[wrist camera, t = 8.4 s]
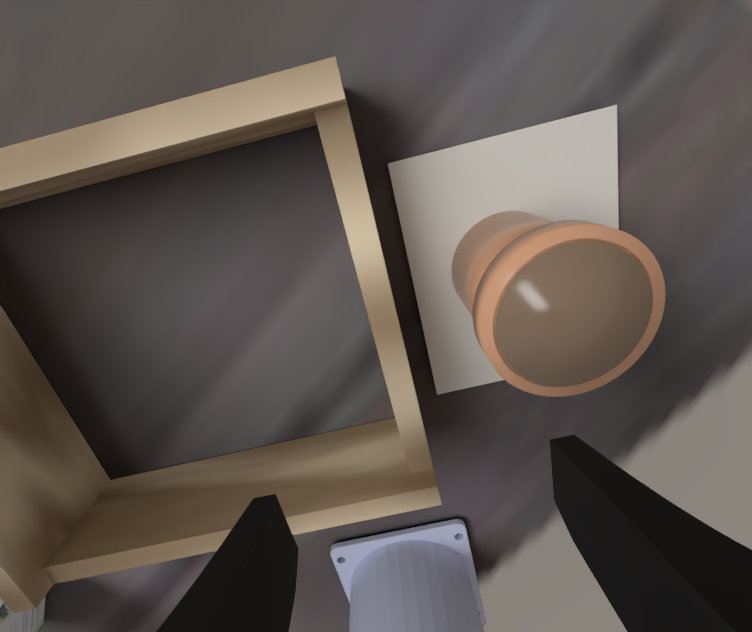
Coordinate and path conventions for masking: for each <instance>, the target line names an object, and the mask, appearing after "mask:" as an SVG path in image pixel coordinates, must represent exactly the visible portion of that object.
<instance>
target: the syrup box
mask: <svg viewBox="0 0 752 632" xmlns="http://www.w3.org/2000/svg"><path fill="white" fill-rule="evenodd" d="M45 598H46V596H45V597H44V598H43V600H42V601H41V603H40V604H39V605H38V607H37V608H36V609H31V610H26V611H21V612H16V613H13V612H12V611H11V609H10V608H9V607H8V606H7V605H6V604H5V603H4V601H3V600H2V599H1V598H0V632H39V631H40V629H41V628H42V626H43V621H44V612H45Z"/></svg>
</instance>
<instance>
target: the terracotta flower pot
mask: <svg viewBox="0 0 752 632" xmlns="http://www.w3.org/2000/svg"><path fill="white" fill-rule="evenodd" d="M451 275H452V282H453V286H454V288H455V291H456V293H457V295H458V296H459V298H460V300H461V301H462V303H463V304H464V305H465V307H466V308H467V310H468V311H469V313H470V314H471V316H472V318H473V327H474V331H475V335H476V338H477V340H478V343H479V345H480V347H481V348H482V350H483V352H484V353H485V355H486V357H487V358H488V360H489V362H490V363H491V365H492V366H493V368H494V369H495V370H496V371H497V373H498V374H499V375H500V376H501V377H502V378H503V379H505V380H506V381H507V382H508V383H510V384H511V385H513V386H515V387H516V388H519V389H521V390H523V391H525V392H528V393H531V394H535V395H541V396H549V397H562V396H571V395H577V394H581V393H584V392H588V391H591V390H593V389H596V388H598V387H601V386H603V385H605V384H607V383H608V382H610V381H612V380H613V379H615V378H617V377H618V376H620V375H621V374H622V373H624V372H625V371H626V370H627V369H629V368H630V367H631V366H632V365H633V364H634V363H635V362H636V361H637V360H638V359H639V358H640V356H641V355H642V354H643V353H644V352H645V351H646V349H647V348H648V346H649V345H650V343H651V342H652V340H653V338H654V336H655V334H656V332H657V330H658V328H659V325H660V322H661V320H662V316H663V312H664V307H665V297H666V296H665V283H664V278H663V274H662V271H661V268H660V266H659V264H658V262H657V260H656V258H655V257H654V255H653V254H652V253H651V251H650V250H649V249H648V248H647V247H646V246H645V245H644V244H643V243H642V242H641V241H639V240H638V239H637V238H635V237H633V236H632V235H630V234H628V233H626V232H623V231H621V230H618V229H615V228H612V227H608V226H605V225H601V224H598V223H594V222H589V221H583V220H562V221H556V222H553V221H550V220H547V219H544V218H541V217H538V216H536V215H533V214H530V213H526V212H522V211H505V212H499V213H496V214H493V215H490V216H488V217H486V218H484V219H482V220H481V221H479V222H478V223H476V224H475V225H474V226H473V227H471V229H470V230H469V231H468V232H467V233H466V234H465V235H464V236H463V238H462V239H461V241H460V242H459V244H458V246H457V248H456V251H455V253H454V256H453V260H452V268H451Z"/></svg>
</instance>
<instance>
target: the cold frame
mask: <svg viewBox="0 0 752 632" xmlns="http://www.w3.org/2000/svg"><path fill="white" fill-rule="evenodd" d="M315 125H318V129H319V133H320V137H321V141H322V144H323V148H324V152H325V156H326V159H327V163H328V167H329V171H330V174H331V178H332V182H333V186H334V189H335V193H336V197H337V201H338V204H339V208H340V212H341V216H342V219H343V223H344V227H345V231H346V234H347V238H348V242H349V246H350V249H351V253H352V257H353V261H354V264H355V268H356V272H357V276H358V279H359V283H360V287H361V291H362V294H363V298H364V302H365V306H366V310H367V313H368V317H369V321H370V325H371V328H372V332H373V336H374V340H375V343H376V347H377V351H378V355H379V358H380V362H381V366H382V370H383V373H384V377H385V381H386V385H387V388H388V392H389V396H390V400H391V403H392V407H393V411H394V415H395V418H391V419H386V420H382V421H377V422H372V423H368V424H363V425H359V426H354V427H350V428H345V429H340V430H336V431H331V432H327V433H322V434H318V435H313V436H309V437H304V438H299V439H295V440H290V441H286V442H281V443H277V444H272V445H267V446H263V447H258V448H254V449H249V450H245V451H240V452H236V453H231V454H226V455H222V456H217V457H213V458H208V459H204V460H199V461H194V462H190V463H185V464H181V465H176V466H172V467H167V468H162V469H158V470H153V471H149V472H144V473H140V474H135V475H131V476H126V477H121V478H117V479H112V480H110V478H109V477H108V475H107V474H106V472H105V470H104V469H103V467H102V466H101V464H100V462H99V461H98V459H97V458H96V456H95V454H94V453H93V451H92V450H91V448H90V447H89V445H88V443H87V442H86V440H85V439H84V437H83V435H82V434H81V432H80V431H79V429H78V427H77V426H76V424H75V423H74V421H73V419H72V418H71V416H70V415H69V413H68V412H67V410H66V408H65V407H64V405H63V404H62V402H61V400H60V399H59V397H58V396H57V394H56V392H55V391H54V389H53V388H52V386H51V384H50V383H49V381H48V380H47V378H46V377H45V375H44V373H43V372H42V370H41V369H40V367H39V365H38V364H37V362H36V361H35V359H34V357H33V356H32V354H31V353H30V351H29V349H28V348H27V346H26V345H25V343H24V341H23V340H22V338H21V337H20V335H19V334H18V332H17V330H16V329H15V327H14V326H13V324H12V322H11V321H10V319H9V318H8V316H7V314H6V313H5V311H4V310H3V308H2V306H1V305H0V598H1V599H2V600H3V601H4V603H5V604H6V605H7V606H8V607H9V608H10V609H11V611H12V612H13V613H16V612H21V611H26V610H31V609H36V608H37V607H38V605H39V604H40V603H41V601H42V600H43V598H44V597H45V596H46V594H47V593H48V592H49V590H50V589H51V587H52V586H53V585H54V584H57V583H62V582H67V581H72V580H77V579H81V578H86V577H91V576H96V575H101V574H106V573H111V572H116V571H120V570H125V569H130V568H135V567H140V566H145V565H150V564H155V563H159V562H164V561H169V560H174V559H179V558H184V557H189V556H194V555H199V554H203V553H208V552H213V551H217V550H218V549H219V547H220V546H221V544H222V543H223V541H224V540H225V538H226V537H227V536H228V534H229V533H230V531H231V530H232V528H233V527H234V525H235V524H236V522H237V521H238V520H239V518H240V517H241V515H242V514H243V512H244V511H245V509H246V508H247V507H248V505H249V504H250V502H251V501H252V500H253V498H257V497H262V496H267V495H272V494H276V496H277V498H278V501H279V503H280V506H281V508H282V511H283V513H284V516H285V518H286V520H287V523H288V525H289V528H290V530H291V533H292V535H296V534H301V533H306V532H311V531H316V530H321V529H325V528H330V527H335V526H340V525H345V524H350V523H355V522H360V521H364V520H369V519H374V518H379V517H384V516H389V515H394V514H399V513H403V512H408V511H413V510H418V509H423V508H428V507H433V506H438V505H442V503H441V499H440V495H439V490H438V486H437V481H436V477H435V473H434V468H433V464H432V459H431V455H430V451H429V446H428V442H427V438H426V433H425V429H424V425H423V420H422V416H421V412H420V408H419V403H418V399H417V395H416V391H415V387H414V382H413V378H412V374H411V370H410V365H409V361H408V357H407V353H406V348H405V344H404V340H403V336H402V332H401V327H400V323H399V319H398V315H397V310H396V306H395V302H394V298H393V294H392V289H391V285H390V281H389V277H388V272H387V268H386V264H385V260H384V255H383V251H382V247H381V243H380V239H379V234H378V230H377V226H376V222H375V217H374V213H373V209H372V205H371V201H370V196H369V192H368V188H367V184H366V179H365V175H364V171H363V167H362V162H361V158H360V154H359V150H358V146H357V141H356V137H355V133H354V129H353V124H352V120H351V116H350V112H349V108H348V103H347V99H346V95H345V91H344V86H343V83H342V79H341V75H340V72H339V68H338V64H337V60H336V57H331V58H328V59H324V60H321V61H317V62H313V63H310V64H306V65H302V66H299V67H295V68H291V69H288V70H284V71H280V72H277V73H273V74H270V75H266V76H262V77H259V78H255V79H251V80H248V81H244V82H240V83H237V84H233V85H229V86H226V87H222V88H218V89H215V90H211V91H208V92H204V93H200V94H197V95H193V96H189V97H186V98H182V99H178V100H175V101H171V102H167V103H164V104H160V105H157V106H153V107H149V108H146V109H142V110H138V111H135V112H131V113H127V114H124V115H120V116H116V117H113V118H109V119H105V120H102V121H98V122H95V123H91V124H87V125H84V126H80V127H76V128H73V129H69V130H65V131H62V132H58V133H54V134H51V135H47V136H44V137H40V138H36V139H33V140H29V141H25V142H22V143H18V144H14V145H11V146H7V147H3V148H0V209H1V208H5V207H9V206H13V205H17V204H20V203H24V202H28V201H32V200H35V199H39V198H43V197H47V196H50V195H54V194H58V193H62V192H66V191H69V190H73V189H77V188H81V187H84V186H88V185H92V184H96V183H100V182H103V181H107V180H111V179H115V178H118V177H122V176H126V175H130V174H134V173H137V172H141V171H145V170H149V169H152V168H156V167H160V166H164V165H167V164H171V163H175V162H179V161H183V160H186V159H190V158H194V157H198V156H201V155H205V154H209V153H213V152H217V151H220V150H224V149H228V148H232V147H235V146H239V145H243V144H247V143H251V142H254V141H258V140H262V139H266V138H269V137H273V136H277V135H281V134H284V133H288V132H292V131H296V130H300V129H303V128H307V127H311V126H315Z"/></svg>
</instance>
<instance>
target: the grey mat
mask: <svg viewBox="0 0 752 632" xmlns="http://www.w3.org/2000/svg"><path fill="white" fill-rule="evenodd" d="M387 164H388V169H389V174H390V178H391V183H392V188H393V192H394V197H395V202H396V206H397V211H398V216H399V220H400V225H401V230H402V234H403V239H404V244H405V248H406V253H407V258H408V262H409V267H410V272H411V276H412V281H413V286H414V290H415V295H416V300H417V304H418V309H419V314H420V318H421V323H422V328H423V332H424V337H425V342H426V346H427V351H428V356H429V360H430V365H431V370H432V374H433V379H434V384H435V388H436V392H437V395H438V394H443V393H447V392H452V391H456V390H461V389H465V388H470V387H474V386H479V385H484V384H488V383H493V382H497V381H502V380H505V379H503V378H502V377H501V376H500V375H499V374H498V373H497V371H496V370H495V369H494V368H493V366H492V365H491V363H490V362H489V360H488V358H487V357H486V355H485V353H484V352H483V350H482V348H481V347H480V345H479V343H478V340H477V338H476V335H475V331H474V327H473V318H472V316H471V314H470V313H469V311H468V310H467V308H466V307H465V305H464V304H463V303H462V301H461V300H460V298H459V296H458V295H457V293H456V291H455V288H454V286H453V282H452V275H451V268H452V260H453V256H454V253H455V251H456V248H457V246H458V244H459V242H460V241H461V239H462V238H463V236H464V235H465V234H466V233H467V232H468V231H469V230H470V229H471V227H473V226H474V225H475V224H476V223H478V222H479V221H481V220H482V219H484V218H486V217H488V216H490V215H493V214H496V213H499V212H505V211H522V212H526V213H530V214H533V215H536V216H538V217H541V218H544V219H547V220H550V221H553V222H556V221H562V220H583V221H589V222H594V223H598V224H601V225H605V226H608V227H612V228H615V229H618V230H619V218H618V145H617V105H614V106H609V107H605V108H602V109H598V110H594V111H590V112H586V113H582V114H578V115H574V116H570V117H567V118H563V119H559V120H555V121H551V122H547V123H543V124H539V125H535V126H531V127H528V128H524V129H520V130H516V131H512V132H508V133H504V134H500V135H496V136H492V137H489V138H485V139H481V140H477V141H473V142H469V143H465V144H461V145H457V146H453V147H450V148H446V149H442V150H438V151H434V152H430V153H426V154H422V155H418V156H415V157H411V158H407V159H403V160H399V161H395V162H391V163H387Z"/></svg>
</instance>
